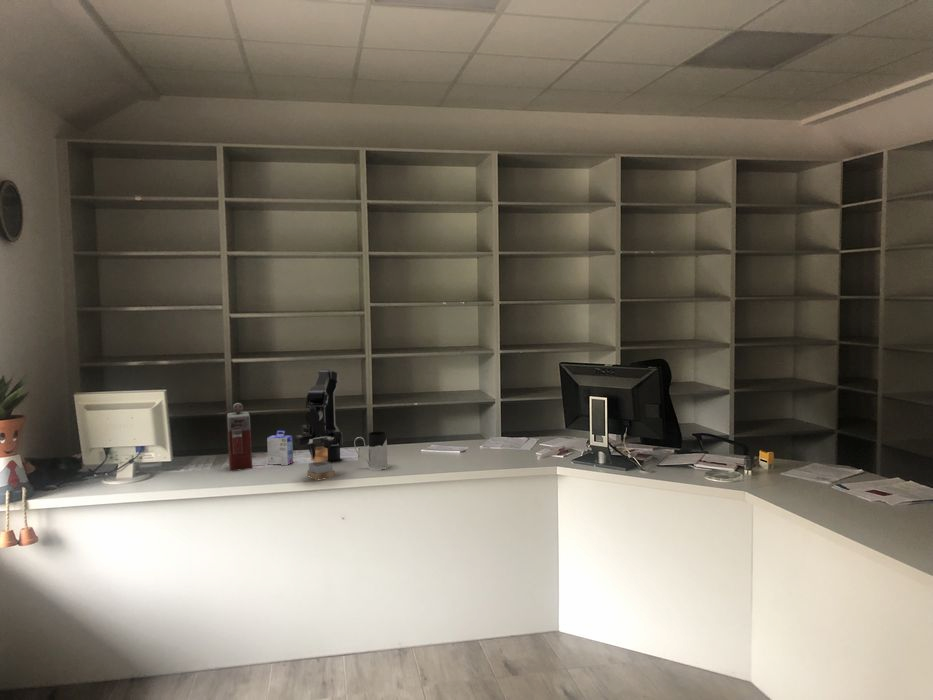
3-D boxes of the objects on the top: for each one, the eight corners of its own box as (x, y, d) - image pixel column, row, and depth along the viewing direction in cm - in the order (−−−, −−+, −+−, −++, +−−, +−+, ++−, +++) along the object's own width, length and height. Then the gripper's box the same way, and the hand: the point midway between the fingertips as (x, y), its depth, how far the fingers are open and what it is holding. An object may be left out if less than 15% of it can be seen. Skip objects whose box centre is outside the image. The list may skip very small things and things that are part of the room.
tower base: (325, 474, 280) (325, 467, 280) (334, 478, 274) (334, 471, 274) (307, 477, 275) (307, 470, 275) (316, 481, 269) (316, 474, 269)
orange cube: (322, 458, 277) (322, 446, 277) (327, 460, 273) (327, 448, 273) (311, 460, 274) (310, 448, 274) (316, 462, 270) (316, 450, 270)
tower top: (324, 467, 279) (324, 460, 279) (332, 470, 274) (332, 463, 274) (309, 470, 275) (308, 463, 275) (317, 474, 269) (316, 466, 269)
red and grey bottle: (230, 471, 284) (227, 406, 281) (229, 465, 294) (226, 402, 291) (252, 469, 287) (249, 404, 284) (250, 463, 297) (247, 400, 295)
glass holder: (389, 469, 284) (388, 435, 282) (354, 471, 281) (353, 436, 280) (387, 464, 292) (387, 430, 291) (354, 466, 290) (353, 432, 288)
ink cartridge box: (294, 462, 298) (292, 430, 297) (288, 465, 293) (287, 433, 291) (273, 461, 300) (272, 429, 299) (267, 464, 295) (266, 432, 293)
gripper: (330, 414, 284) (331, 450, 286) (288, 420, 273) (289, 457, 274) (342, 418, 275) (343, 455, 277) (299, 424, 264) (301, 463, 265)
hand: (319, 457), depth 274 cm, fingers closed on orange cube, 5 cm apart
